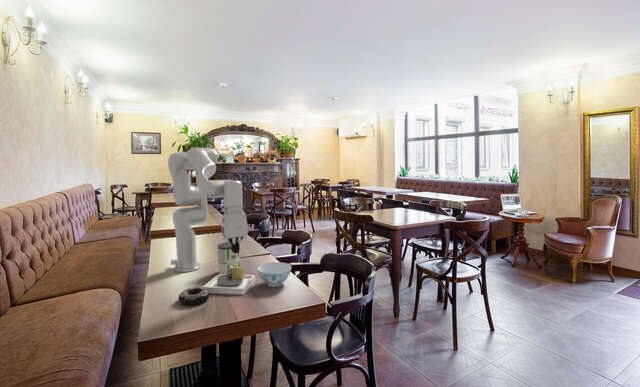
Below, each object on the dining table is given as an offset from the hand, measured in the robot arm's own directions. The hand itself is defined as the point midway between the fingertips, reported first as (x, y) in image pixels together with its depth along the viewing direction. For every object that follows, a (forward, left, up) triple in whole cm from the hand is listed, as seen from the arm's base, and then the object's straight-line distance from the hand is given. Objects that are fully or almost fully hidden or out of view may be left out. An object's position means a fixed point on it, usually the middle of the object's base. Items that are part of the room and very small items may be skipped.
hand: (235, 252), depth 139 cm
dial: (-4, +4, -15) cm, 16 cm away
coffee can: (-13, +22, -17) cm, 30 cm away
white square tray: (-5, +4, -17) cm, 18 cm away
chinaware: (+14, +9, -17) cm, 24 cm away
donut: (-13, -12, -17) cm, 25 cm away
